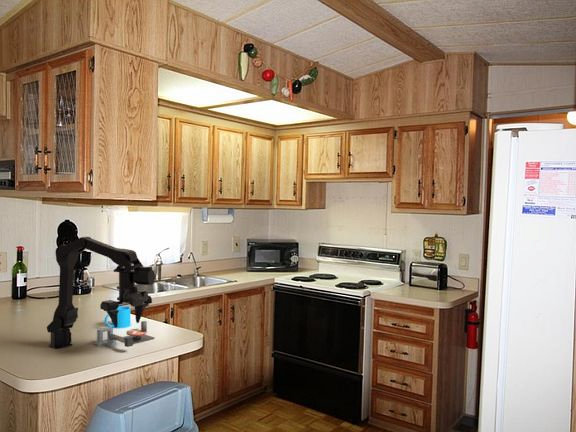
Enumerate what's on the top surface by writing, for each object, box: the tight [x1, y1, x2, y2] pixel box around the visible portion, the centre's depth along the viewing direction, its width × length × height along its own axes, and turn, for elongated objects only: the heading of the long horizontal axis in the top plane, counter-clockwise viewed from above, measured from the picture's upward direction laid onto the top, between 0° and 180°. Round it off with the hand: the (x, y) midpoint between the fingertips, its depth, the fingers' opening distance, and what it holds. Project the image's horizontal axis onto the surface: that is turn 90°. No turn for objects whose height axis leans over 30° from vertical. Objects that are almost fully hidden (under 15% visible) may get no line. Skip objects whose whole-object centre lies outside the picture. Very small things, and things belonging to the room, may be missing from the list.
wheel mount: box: [123, 334, 155, 345], centre depth 200 cm, size 10×10×1 cm
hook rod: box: [109, 333, 134, 348], centre depth 186 cm, size 2×13×3 cm, turn 51°
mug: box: [104, 305, 131, 329], centre depth 219 cm, size 12×8×8 cm
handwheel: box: [126, 320, 148, 336], centre depth 199 cm, size 8×8×6 cm
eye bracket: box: [93, 326, 117, 348], centre depth 192 cm, size 7×8×6 cm
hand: (127, 325), depth 184 cm, fingers open, 9 cm apart
